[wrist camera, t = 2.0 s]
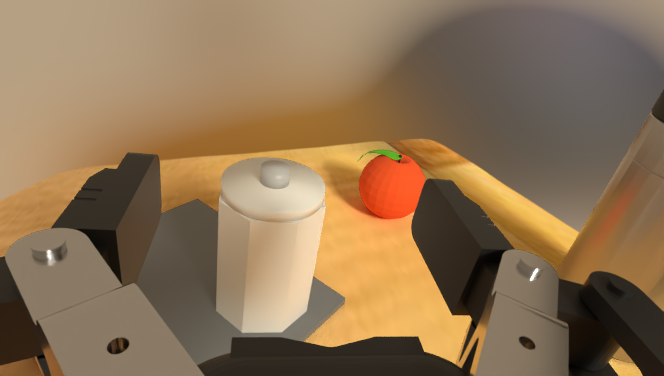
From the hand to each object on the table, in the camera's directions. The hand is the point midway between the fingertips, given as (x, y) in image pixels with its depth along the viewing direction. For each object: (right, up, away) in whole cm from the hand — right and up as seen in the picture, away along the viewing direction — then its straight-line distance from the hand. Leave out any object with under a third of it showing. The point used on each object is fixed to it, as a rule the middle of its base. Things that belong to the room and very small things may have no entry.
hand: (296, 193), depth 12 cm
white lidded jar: (-4, -8, +18) cm, 20 cm away
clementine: (+6, -3, +32) cm, 33 cm away
